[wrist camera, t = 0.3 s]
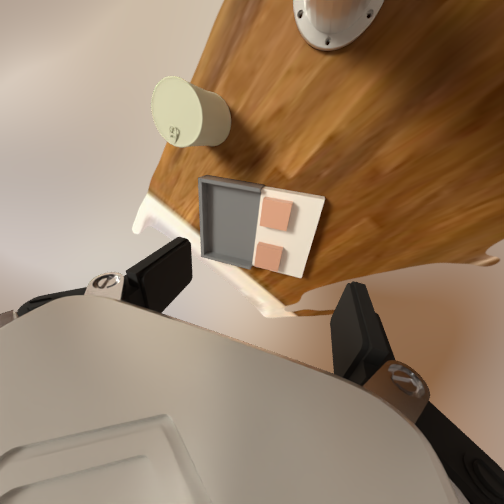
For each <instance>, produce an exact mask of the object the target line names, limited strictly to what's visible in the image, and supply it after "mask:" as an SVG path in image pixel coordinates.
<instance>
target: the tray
mask: <svg viewBox="0 0 504 504" xmlns="http://www.w3.org/2000/svg"><path fill="white" fill-rule="evenodd" d="M263 187H264V185H263V184H257V183H251V182H245V181H239V180H234V179H228V178H222V177H216V176H210V175H205V176H202V177H199V178H198V188H199V212H200V237H201V257H204V258H208V259H211V260H215V261H219V262H223V263H227V264H231V265H234V266H238V267H242V268H246V269H251V267H252V262H253V254H254V246H255V238H256V230H257V222H258V214H259V206H260V198H261V190H262V188H263Z"/></svg>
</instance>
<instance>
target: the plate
mask: <svg viewBox="0 0 504 504" xmlns="http://www.w3.org/2000/svg"><path fill="white" fill-rule="evenodd" d="M265 196H266V197H271V198H277V199H282V200H288V201H293V205H292V209H291V214H290V219H289V223H288V228H287V231H282V230H278V229H273V228H268V227H264V226H260V218H261V210H262V203H263V198H264V197H265ZM324 201H325V197H324V196H318V195H313V194H307V193H301V192H295V191H289V190H284V189H278V188H272V187H266V186H264V187H263V188H262V190H261V198H260V206H259V214H258V222H257V230H256V238H255V246H254V254H253V262H252V266H254V264H255V256H256V248H257V244H258V243H259V242H263V243H268V244H272V245H276V246H281V247H283V251H282V256H281V261H280V265H279V269H278V272H279V273H283V274H287V275H291V276H294V277H298V278H302V275H303V271H304V268H305V264H306V261H307V258H308V254H309V251H310V248H311V244H312V241H313V238H314V234H315V231H316V228H317V224H318V221H319V218H320V214H321V211H322V208H323V204H324ZM259 268H260V267H259ZM263 269H264V268H263ZM267 270H268V269H267ZM271 271H272V270H271ZM275 272H276V271H275Z"/></svg>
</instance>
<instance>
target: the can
mask: <svg viewBox="0 0 504 504" xmlns="http://www.w3.org/2000/svg"><path fill="white" fill-rule="evenodd" d="M151 109H152V116H153V120H154V123H155V125H156V127H157V129H158V131H159V133H160V134H161V136H162V137H163V138H164V139H165V140H166V141H167V142H169V143H170V144H172V145H174V146H176V147H189V146H217V145H219V144H221V143H222V142H224V141H225V139H226V138H227V136H228V134H229V132H230V128H231V115H230V111H229V108H228V106H227V104H226V102H225V101H224V100H223V99H222V98H221V97H220V96H219V95H218V94H216V93H213V92H209V91H206V90H204V89H202V88H200V87H197V86H195V85H193V84H191V83H189V82H187V81H185V80H184V79H182V78H180V77H176V76H169V77H166V78H163V79H162V80H161V81H160V82H159V83H158V84H157V86H156V87H155V89H154V91H153V95H152V101H151Z"/></svg>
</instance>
